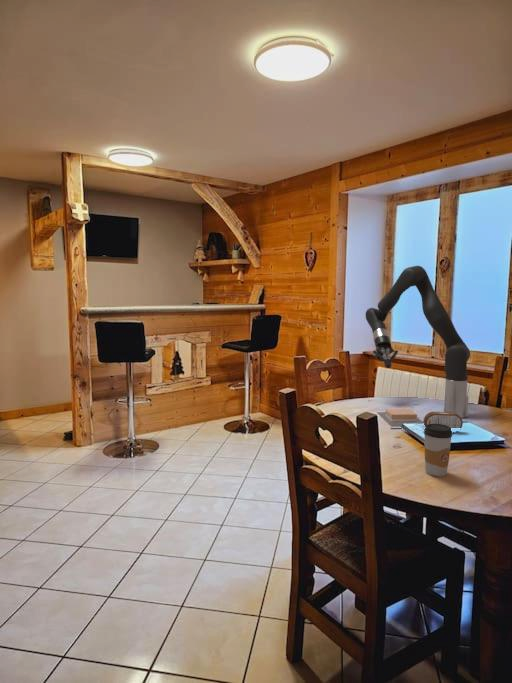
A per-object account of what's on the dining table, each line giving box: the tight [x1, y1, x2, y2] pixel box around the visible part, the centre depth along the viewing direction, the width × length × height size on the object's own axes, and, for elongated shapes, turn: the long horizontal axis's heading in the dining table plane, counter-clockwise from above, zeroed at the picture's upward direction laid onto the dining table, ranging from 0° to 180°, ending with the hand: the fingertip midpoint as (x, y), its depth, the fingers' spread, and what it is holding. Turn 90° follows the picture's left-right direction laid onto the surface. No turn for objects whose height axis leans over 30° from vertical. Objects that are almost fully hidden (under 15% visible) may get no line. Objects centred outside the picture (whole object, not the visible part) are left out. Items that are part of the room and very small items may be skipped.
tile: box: [385, 408, 418, 421], centre depth 197 cm, size 11×3×9 cm
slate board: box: [376, 411, 424, 430], centre depth 197 cm, size 16×22×1 cm
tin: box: [423, 411, 464, 429], centre depth 182 cm, size 15×3×8 cm, turn 84°
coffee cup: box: [423, 424, 453, 477], centre depth 140 cm, size 8×8×15 cm
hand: (388, 367), depth 214 cm, fingers closed
